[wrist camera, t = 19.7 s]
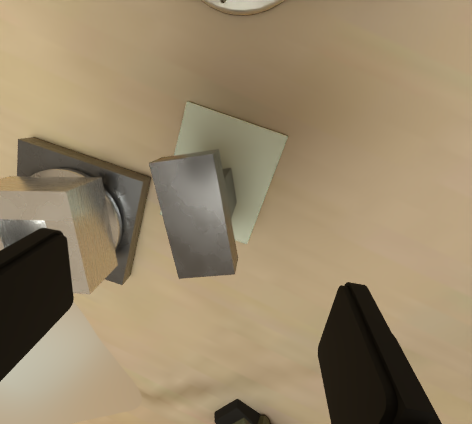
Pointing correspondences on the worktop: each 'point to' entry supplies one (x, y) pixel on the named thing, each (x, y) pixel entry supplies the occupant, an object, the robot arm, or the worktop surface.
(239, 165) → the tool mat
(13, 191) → the grey boxy piece
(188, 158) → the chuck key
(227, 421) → the mechanical leg
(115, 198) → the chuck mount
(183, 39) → the worktop surface
